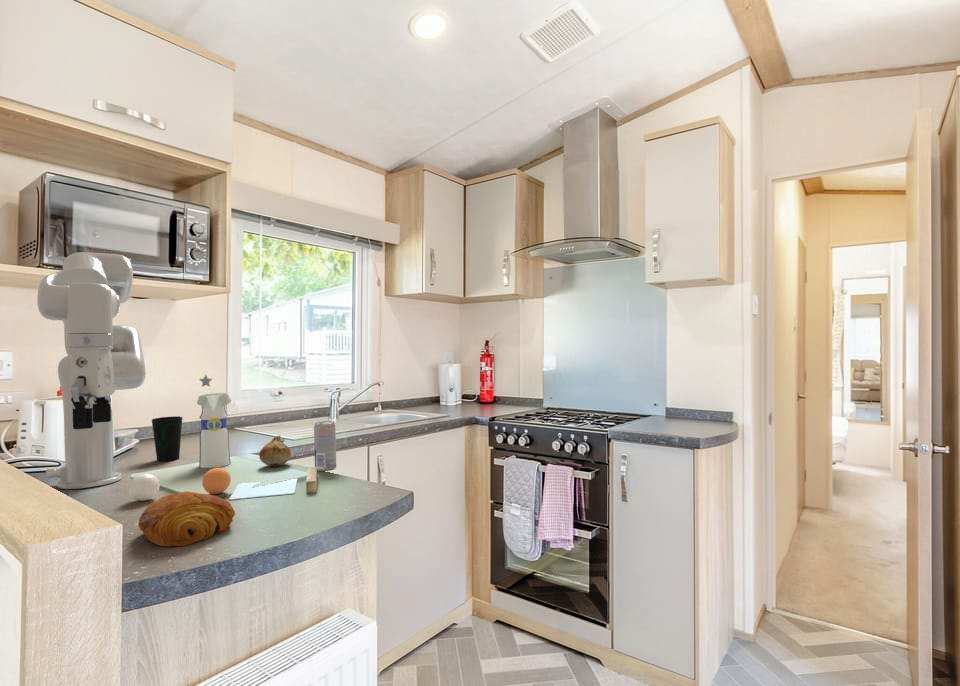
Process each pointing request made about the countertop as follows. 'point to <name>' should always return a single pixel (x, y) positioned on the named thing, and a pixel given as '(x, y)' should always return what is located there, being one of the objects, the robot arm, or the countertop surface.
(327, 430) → the energy drink
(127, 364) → the robot arm
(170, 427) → the cup
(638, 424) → the countertop surface
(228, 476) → the brown egg
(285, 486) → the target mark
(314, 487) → the stop rail
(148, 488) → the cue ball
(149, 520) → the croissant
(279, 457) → the onion
